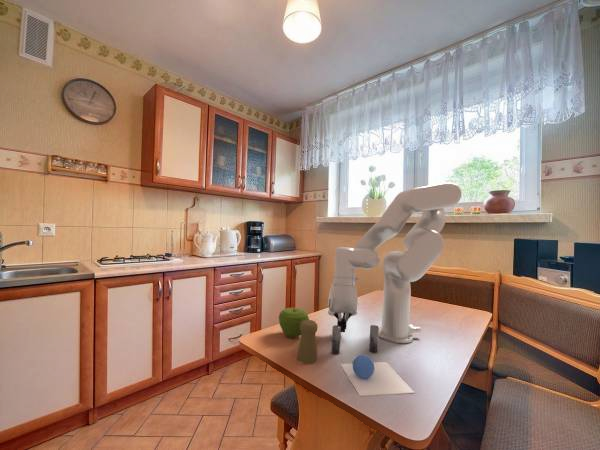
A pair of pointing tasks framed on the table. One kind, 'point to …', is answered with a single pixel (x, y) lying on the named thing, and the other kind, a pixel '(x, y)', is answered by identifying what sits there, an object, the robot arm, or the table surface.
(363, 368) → the ball
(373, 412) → the table surface
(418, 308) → the table surface
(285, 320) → the apple
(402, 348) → the table surface
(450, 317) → the table surface
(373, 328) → the post
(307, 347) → the olive pawn shape
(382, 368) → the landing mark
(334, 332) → the post
